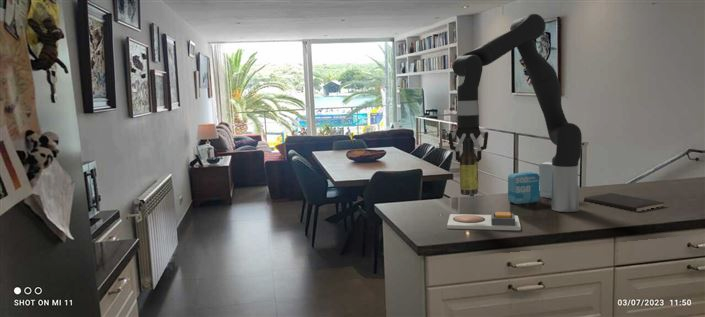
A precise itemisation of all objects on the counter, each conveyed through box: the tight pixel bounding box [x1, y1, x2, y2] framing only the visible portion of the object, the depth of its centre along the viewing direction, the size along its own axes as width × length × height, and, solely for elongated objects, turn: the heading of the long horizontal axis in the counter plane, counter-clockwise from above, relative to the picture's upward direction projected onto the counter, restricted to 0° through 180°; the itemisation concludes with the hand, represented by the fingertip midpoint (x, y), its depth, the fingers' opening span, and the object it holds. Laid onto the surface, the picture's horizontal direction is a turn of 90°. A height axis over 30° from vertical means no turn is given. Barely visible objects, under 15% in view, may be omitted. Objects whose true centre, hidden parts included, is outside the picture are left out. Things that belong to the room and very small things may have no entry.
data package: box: [507, 171, 540, 205], centre depth 212 cm, size 12×4×12 cm, turn 106°
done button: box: [494, 211, 512, 218], centre depth 176 cm, size 5×5×2 cm
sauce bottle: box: [459, 138, 479, 196], centre depth 181 cm, size 6×6×20 cm
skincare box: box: [538, 161, 552, 199], centre depth 220 cm, size 8×6×15 cm
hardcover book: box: [583, 192, 665, 213], centre depth 203 cm, size 16×23×2 cm
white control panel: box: [446, 212, 522, 231], centre depth 181 cm, size 24×16×4 cm, turn 76°
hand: (468, 161), depth 181 cm, fingers closed on sauce bottle, 6 cm apart
